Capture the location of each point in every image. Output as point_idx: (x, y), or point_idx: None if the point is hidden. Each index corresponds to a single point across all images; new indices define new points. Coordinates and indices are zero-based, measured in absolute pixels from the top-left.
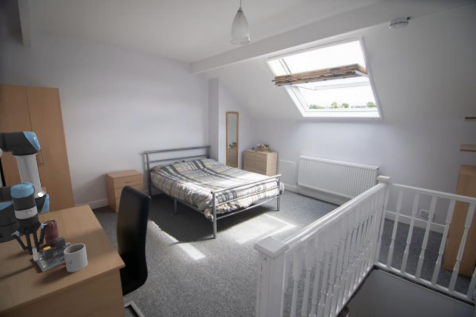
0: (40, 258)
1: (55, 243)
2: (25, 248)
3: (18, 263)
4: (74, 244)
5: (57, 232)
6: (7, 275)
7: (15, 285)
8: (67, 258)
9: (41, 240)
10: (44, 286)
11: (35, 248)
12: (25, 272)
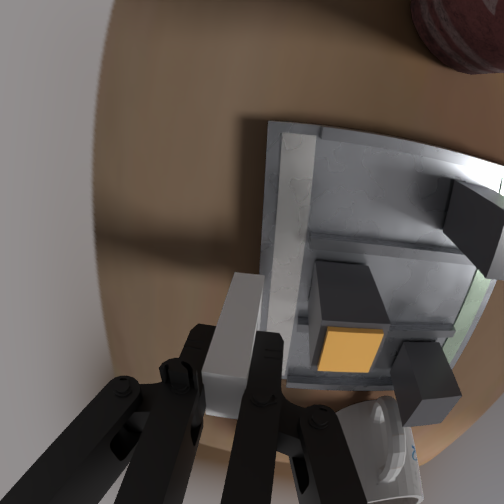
0: (292, 246)
1: (471, 72)
2: (139, 432)
3: (167, 108)
4: (407, 495)
5: None
6: (104, 226)
7: (141, 352)
8: None
9: (304, 487)
10: (229, 432)
11: (236, 416)
12: (183, 288)
